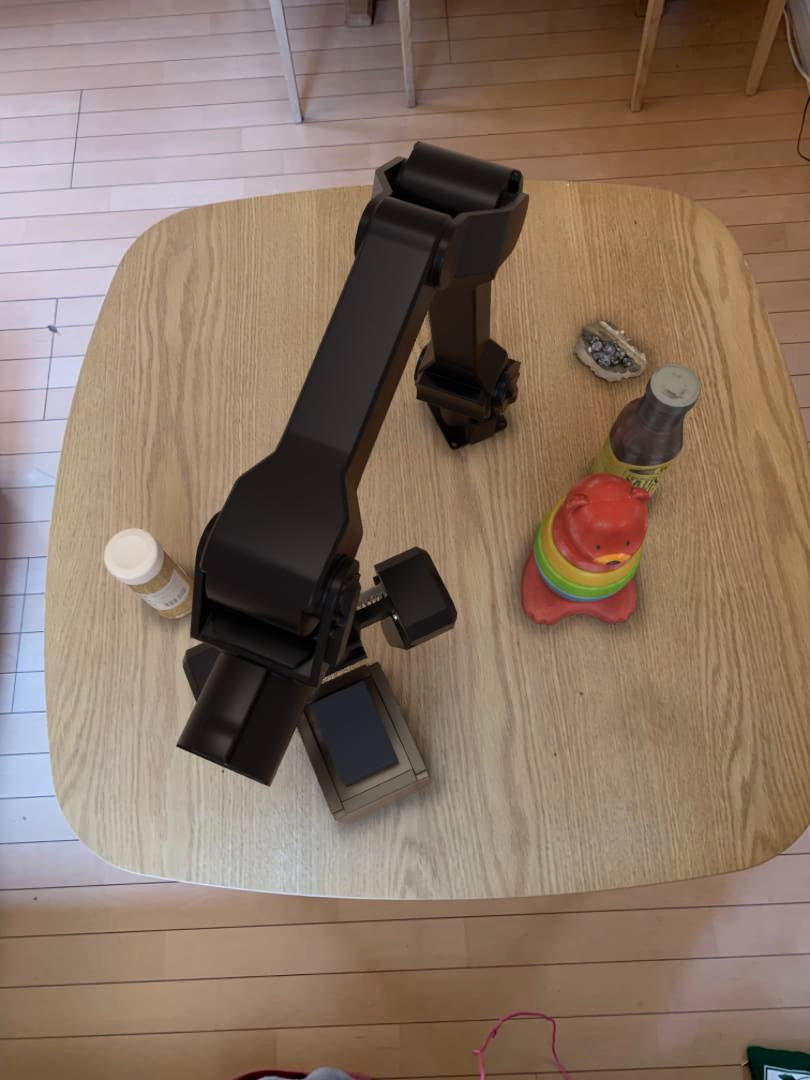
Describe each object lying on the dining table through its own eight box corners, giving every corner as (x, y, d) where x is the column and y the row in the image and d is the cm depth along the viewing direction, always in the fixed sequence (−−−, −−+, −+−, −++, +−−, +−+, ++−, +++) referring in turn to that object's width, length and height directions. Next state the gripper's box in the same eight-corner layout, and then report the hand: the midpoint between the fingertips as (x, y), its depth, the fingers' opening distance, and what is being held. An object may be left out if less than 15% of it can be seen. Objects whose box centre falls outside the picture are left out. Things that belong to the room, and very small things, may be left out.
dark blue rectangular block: (314, 710, 68) (309, 704, 65) (366, 687, 69) (363, 680, 66) (346, 787, 66) (342, 784, 63) (399, 762, 66) (397, 758, 64)
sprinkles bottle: (190, 567, 83) (146, 517, 71) (206, 608, 82) (165, 563, 69) (146, 587, 83) (94, 540, 70) (162, 628, 81) (112, 587, 68)
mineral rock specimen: (588, 315, 92) (591, 305, 90) (658, 343, 90) (663, 333, 88) (563, 364, 90) (566, 355, 88) (635, 393, 88) (639, 384, 86)
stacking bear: (522, 625, 80) (546, 566, 63) (516, 525, 84) (537, 444, 67) (637, 624, 80) (691, 564, 63) (627, 523, 83) (675, 441, 67)
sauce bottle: (606, 530, 83) (657, 437, 65) (573, 478, 85) (613, 374, 66) (663, 500, 84) (729, 401, 65) (629, 450, 86) (683, 340, 67)
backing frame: (305, 719, 78) (285, 699, 67) (384, 683, 79) (377, 658, 68) (347, 824, 74) (333, 820, 64) (430, 785, 75) (429, 775, 65)
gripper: (389, 447, 56) (399, 527, 71) (123, 563, 54) (190, 621, 69) (463, 594, 53) (458, 646, 67) (182, 724, 51) (240, 749, 65)
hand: (335, 661), depth 67 cm, fingers open, 9 cm apart
